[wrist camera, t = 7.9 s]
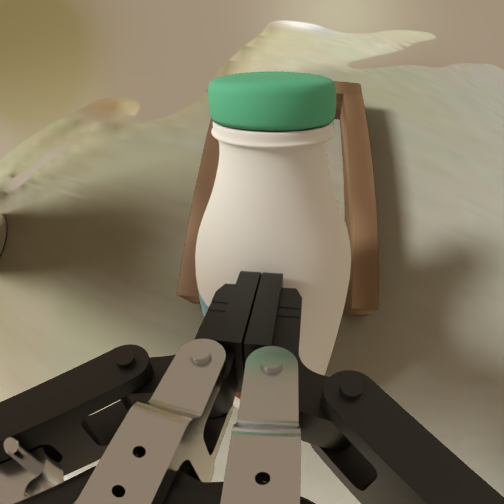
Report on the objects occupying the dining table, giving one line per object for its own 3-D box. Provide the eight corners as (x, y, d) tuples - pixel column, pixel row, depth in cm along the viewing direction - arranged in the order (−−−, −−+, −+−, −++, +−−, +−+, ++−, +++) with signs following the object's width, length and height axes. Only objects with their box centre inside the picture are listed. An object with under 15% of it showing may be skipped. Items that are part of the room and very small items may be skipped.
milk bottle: (323, 340, 24) (363, 73, 12) (317, 426, 18) (410, 102, 6) (232, 330, 26) (203, 70, 13) (209, 412, 20) (117, 101, 7)
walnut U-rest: (192, 302, 27) (176, 294, 23) (227, 104, 34) (220, 80, 30) (365, 315, 24) (378, 309, 21) (355, 108, 31) (360, 83, 27)
